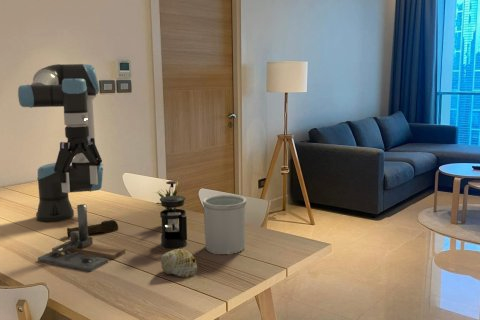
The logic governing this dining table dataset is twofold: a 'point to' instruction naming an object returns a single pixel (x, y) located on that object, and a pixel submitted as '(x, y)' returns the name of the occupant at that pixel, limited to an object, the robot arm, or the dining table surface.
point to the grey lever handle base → (91, 248)
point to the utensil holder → (224, 223)
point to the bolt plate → (73, 260)
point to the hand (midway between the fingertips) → (80, 188)
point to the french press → (173, 233)
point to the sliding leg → (81, 230)
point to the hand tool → (98, 227)
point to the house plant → (170, 221)
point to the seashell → (179, 263)
